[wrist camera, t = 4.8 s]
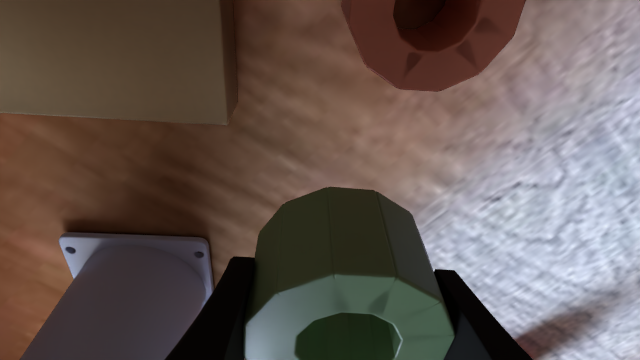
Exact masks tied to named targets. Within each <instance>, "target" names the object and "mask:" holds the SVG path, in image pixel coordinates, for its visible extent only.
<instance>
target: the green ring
mask: <svg viewBox="0 0 640 360" xmlns="http://www.w3.org/2000/svg"><path fill="white" fill-rule="evenodd" d="M454 337H455V329H454V326H453V324H452V321H451V318H450V315H449V313H448V310H447V307H446V304H445V302H444V299H443V296H442V293H441V291H440V288H439V285H438V282H437V280H436V277H435V274H434V271H433V269H432V266H431V263H430V260H429V257H428V255H427V252H426V249H425V246H424V244H423V241H422V239H421V236H420V233H419V231H418V228H417V226H416V223H415V221H414V218H413V216H412V214H411V213H410V212H409V211H407V210H406V209H404V208H402V207H401V206H399V205H398V204H396V203H394V202H393V201H391V200H390V199H388V198H387V197H385V196H383V195H382V194H380V193H379V192H375V191H374V190H365V189H352V188H340V187H328V188H323V189H320V190H318V191H315V192H312V193H310V194H307V195H304V196H302V197H299V198H296V199H294V200H291V201H288V202H286V203H285V204H283V205H282V206H281V207H280V208H279V210H278V211H277V212H276V213H275V214H274V216H273V217H272V218H271V219H270V220H269V221H268V223H267V224H266V225H265V226H264V227H263V229H262V230H261V231H260V233H259V235H258V241H257V247H256V253H255V264H254V270H253V276H252V282H251V288H250V293H249V298H248V302H247V306H246V312H245V318H244V324H243V355H244V357H245V359H246V360H444V358H445V356H446V354H447V352H448V350H449V348H450V346H451V344H452V342H453V340H454Z"/></svg>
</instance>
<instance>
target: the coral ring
mask: <svg viewBox="0 0 640 360" xmlns="http://www.w3.org/2000/svg"><path fill="white" fill-rule="evenodd" d="M525 1H526V0H446V1H445V5H444V6H443V8H442V9H441V10H440V12H439V13H438V14H437V15H436V17H435V18H434V19H433V21H431V22H429V23H427V24H425V25H423V26H421V27H419V28H417V29H403V28H397V26H396V23H395V21H394V18H393V12H394V6H395V0H342V3H341V7H342V11H343V14H344V16H345V19H346V21H347V24H348V26H349V29H350V31H351V33H352V36H353V38H354V40H355V43H356V45H357V48H358V50H359V52H360V55H361V57H362V59H363V62H364V64H365V65H366V66H367V68H369V69H370V70H372V71H373V72H374V73H376V74H377V75H379V76H380V77H382V78H383V79H384V80H386V81H387V82H389V83H390V84H392V85H393V86H394V87H396V88H399V89H404V90H420V91H436V92H437V91H442V90H444V89H446V88H449V87H451V86H453V85H455V84H458V83H460V82H462V81H465V80H467V79H469V78H471V77H474V76H476V75H478V74H479V73H481V72H482V71H483V70H484V69H485V68H486V67H487V65H488V64H489V63H490V62H491V61H492V60H493V59H494V58H495V57H496V56H497V54H498V53H499V52H500V51H501V50H502V49H503V48H504V47H505V46H506V44H507V43H508V42H509V41H510V40H511V39H512V37H513V36H514V34H515V31H516V28H517V25H518V22H519V19H520V16H521V13H522V10H523V7H524V4H525Z"/></svg>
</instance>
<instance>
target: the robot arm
mask: <svg viewBox="0 0 640 360" xmlns="http://www.w3.org/2000/svg"><path fill="white" fill-rule="evenodd" d="M59 244H60V246H61V249H62V251H63V254H64V256H65V259H66V261H67V264H68V266H69V268H70V271H71V273H72V276H73V278H74V280H73V282H72V283H71V285H70V286H69V287H68V289H67V290H66V292H65V293H64V295H63V296H62V298H61V299H60V301H59V302H58V304H57V305H56V307H55V308H54V310H53V311H52V313H51V314H50V316H49V317H48V318H47V320H46V321H45V323H44V324H43V326H42V327H41V329H40V330H39V332H38V333H37V335H36V336H35V338H34V339H33V341H32V342H31V344H30V345H29V347H28V348H27V349H26V351H25V352H24V354H23V355H22V357H21V358H20V360H244V358H245V357H244V355H243V324H244V318H245V312H246V306H247V302H248V298H249V293H250V288H251V282H252V276H253V270H254V264H255V258H251V257H235V256H234V257H233V258H231V259H230V261H229V263H228V266H227V268H226V270H225V272H224V274H223V275H222V277H221V279H220V281H219V283H218V284H217V286H216V288H215V289H214V286H213V278H212V269H211V261H210V252H209V244H208V242H207V241H206V240H205V239H203V238H200V237H178V236H153V235H127V234H101V233H76V232H66V233H64V234H62V236H61V237H60V238H59ZM72 247H73V248H72ZM197 251H199V252H202V253H198V252H197ZM434 274H435V277H436V280H437V282H438V285H439V288H440V291H441V293H442V296H443V299H444V302H445V304H446V307H447V310H448V313H449V315H450V318H451V321H452V324H453V326H454V329H455V337H454V340H453V342H452V344H451V346H450V348H449V350H448V352H447V354H446V356H445V358H444V360H533V359H532V358H531V357H530V356H529V355H528V354H527V353H526V352H525V351H524V350H523V349H522V348H521V347H520V346H519V344H518V343H517V342H516V341H515V340H514V339H513V338H512V337H511V336H510V335H509V334H508V333H507V331H506V330H505V329H504V328H503V327H502V326H501V325H500V324H499V322H498V321H497V320H496V319H495V318H494V317H493V316H492V314H491V313H490V312H489V311H488V310H487V309H486V307H485V306H484V305H483V304H482V303H481V301H480V300H479V299H478V298H477V297H476V296H475V294H474V293H473V292H472V291H471V290H470V288H469V287H468V286H467V285H466V283H465V282H464V281H463V280H462V279H461V278H460V276H459V275H458V274H457V273H456V272H455V271H454V270H440V269H435V271H434Z"/></svg>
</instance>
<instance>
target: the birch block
mask: <svg viewBox="0 0 640 360" xmlns="http://www.w3.org/2000/svg"><path fill="white" fill-rule="evenodd" d="M237 102H238V97H237V76H236V56H235V36H234V15H233V0H0V113H15V114H33V115H51V116H69V117H87V118H105V119H123V120H141V121H160V122H178V123H196V124H214V125H228V123H229V121H230V118H231V116H232V114H233V111H234V109H235V107H236V104H237Z"/></svg>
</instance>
